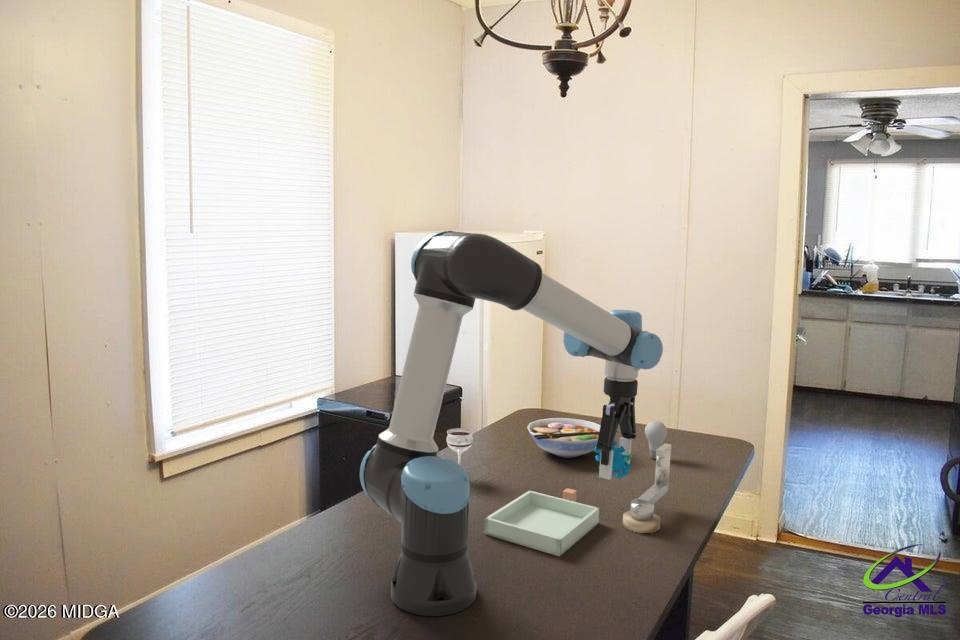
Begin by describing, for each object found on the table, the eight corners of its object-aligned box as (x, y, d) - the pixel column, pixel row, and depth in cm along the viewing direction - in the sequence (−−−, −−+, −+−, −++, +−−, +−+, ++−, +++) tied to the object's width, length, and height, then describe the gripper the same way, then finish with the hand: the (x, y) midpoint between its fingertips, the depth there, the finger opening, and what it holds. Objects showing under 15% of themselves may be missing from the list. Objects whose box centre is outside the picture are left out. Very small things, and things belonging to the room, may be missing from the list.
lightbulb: (668, 458, 208) (670, 420, 206) (661, 464, 203) (663, 425, 201) (647, 454, 211) (649, 416, 210) (639, 459, 206) (642, 421, 205)
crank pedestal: (652, 537, 156) (653, 528, 156) (617, 527, 160) (617, 518, 160) (664, 524, 163) (665, 515, 163) (630, 515, 167) (630, 507, 167)
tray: (559, 556, 146) (560, 539, 145) (484, 534, 155) (484, 518, 155) (598, 523, 162) (599, 508, 162) (528, 504, 172) (529, 490, 171)
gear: (606, 475, 164) (591, 436, 169) (591, 487, 168) (577, 448, 173) (642, 475, 170) (627, 437, 175) (627, 487, 173) (612, 449, 179)
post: (571, 510, 169) (572, 493, 169) (561, 507, 170) (562, 491, 170) (575, 506, 171) (576, 490, 171) (566, 504, 172) (567, 488, 172)
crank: (648, 523, 158) (652, 467, 156) (626, 517, 161) (630, 462, 159) (675, 497, 173) (678, 445, 171) (654, 492, 176) (657, 441, 174)
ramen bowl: (588, 439, 224) (589, 412, 223) (625, 463, 202) (626, 434, 201) (511, 444, 216) (512, 417, 215) (541, 471, 195) (542, 441, 194)
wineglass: (473, 473, 191) (474, 428, 190) (470, 482, 185) (471, 436, 183) (447, 472, 192) (448, 427, 190) (443, 481, 185) (444, 435, 184)
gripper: (617, 389, 156) (610, 489, 159) (654, 372, 175) (647, 462, 178) (585, 383, 160) (578, 481, 163) (624, 368, 179) (618, 455, 182)
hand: (614, 471), depth 170 cm, fingers closed on gear, 11 cm apart
